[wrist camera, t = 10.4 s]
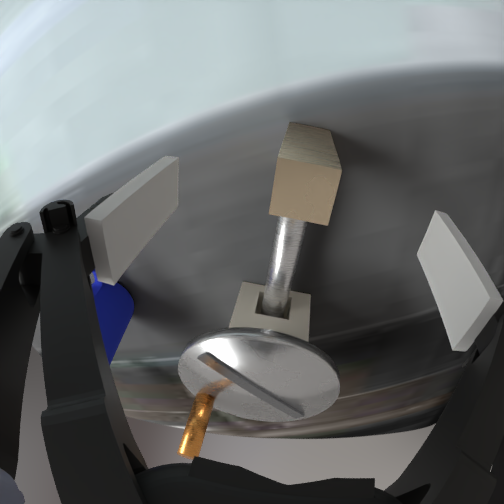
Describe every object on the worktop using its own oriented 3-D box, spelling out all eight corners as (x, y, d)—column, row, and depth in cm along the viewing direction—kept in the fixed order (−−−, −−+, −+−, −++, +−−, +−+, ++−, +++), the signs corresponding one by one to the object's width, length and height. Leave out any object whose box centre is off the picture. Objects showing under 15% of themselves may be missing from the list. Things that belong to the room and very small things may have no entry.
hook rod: (289, 122, 22) (277, 157, 14) (329, 129, 22) (342, 170, 14) (253, 332, 37) (237, 402, 29) (278, 337, 37) (267, 407, 29)
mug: (126, 249, 33) (80, 309, 25) (147, 320, 40) (117, 377, 32) (75, 243, 34) (29, 293, 26) (101, 310, 41) (68, 360, 33)
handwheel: (154, 359, 28) (124, 427, 22) (262, 299, 21) (238, 406, 14) (257, 421, 33) (244, 480, 26) (368, 388, 25) (370, 466, 19)
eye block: (242, 281, 32) (222, 347, 25) (310, 294, 32) (306, 363, 25) (237, 323, 37) (220, 385, 29) (296, 335, 36) (289, 398, 29)
